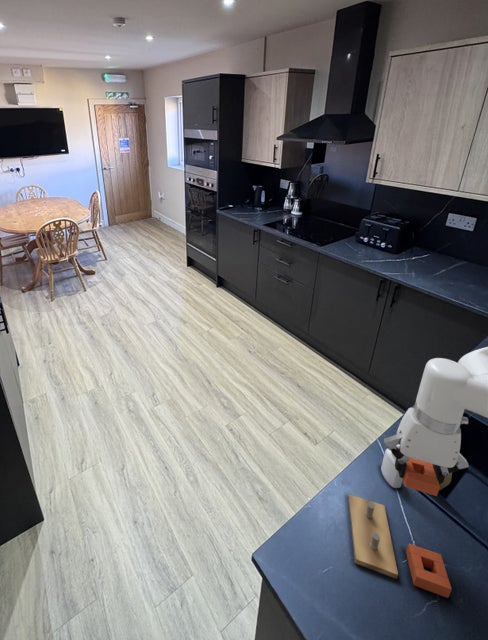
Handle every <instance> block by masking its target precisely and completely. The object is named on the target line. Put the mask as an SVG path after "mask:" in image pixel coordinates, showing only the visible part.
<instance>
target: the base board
mask: <svg viewBox="0 0 488 640" xmlns="http://www.w3.org/2000/svg"><path fill="white" fill-rule="evenodd" d="M347 500H348V511H349V519H350V528H351V529H350V530H351V536H352V538H351V539H352V546H353V556H354V564H356V565H359V566H361V567H363V568H367V569H370V570H372V571H375V572H377V573H380V574H382V575H385V576H388V577H390V578H393V579H398V577H399V570H398V566H397V561H396V556H395V552H394V547H393V546H394V545H393V541H392V537H391V531H390V526H389V521H388V517H387V512H386V506H385V504H381V503H378V502H375V501H372V500H368V499H366V498H362V497H360V496H356V495H353V494H350V493H349V494H348V497H347Z"/></svg>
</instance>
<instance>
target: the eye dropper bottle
mask: <svg viewBox="0 0 488 640" xmlns="http://www.w3.org/2000/svg"><path fill="white" fill-rule="evenodd" d="M399 446H400V444H397V445H396V447H397V448H398V447H399ZM395 461H396V457H395V456H394V455H393V454H392V452H391V451H390V450H389V449H388V448H385V450H384V454H383V458H382V461H381V466H380V471H381V474H382V476H383V479H384V480H385V481H386V483H387V484H388V485H389V486H391V487H392V488H393V489H400V488H401V487H402V484H403V478H400V477H399V473H398V470H396V469H395Z"/></svg>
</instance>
